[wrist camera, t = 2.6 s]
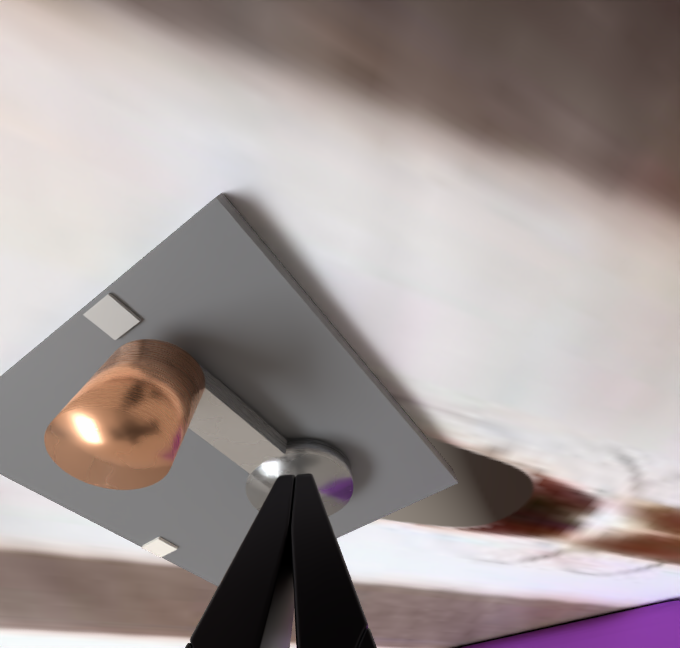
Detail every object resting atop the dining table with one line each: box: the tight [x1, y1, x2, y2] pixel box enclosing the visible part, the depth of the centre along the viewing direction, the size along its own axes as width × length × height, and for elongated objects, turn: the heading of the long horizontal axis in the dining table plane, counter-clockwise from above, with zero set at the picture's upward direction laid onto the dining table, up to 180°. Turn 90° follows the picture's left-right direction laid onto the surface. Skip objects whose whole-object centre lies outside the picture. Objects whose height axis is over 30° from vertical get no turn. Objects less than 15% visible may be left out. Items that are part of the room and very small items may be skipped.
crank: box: [44, 339, 353, 516], centre depth 16 cm, size 15×6×5 cm, turn 35°
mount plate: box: [0, 193, 458, 586], centre depth 20 cm, size 20×21×1 cm
